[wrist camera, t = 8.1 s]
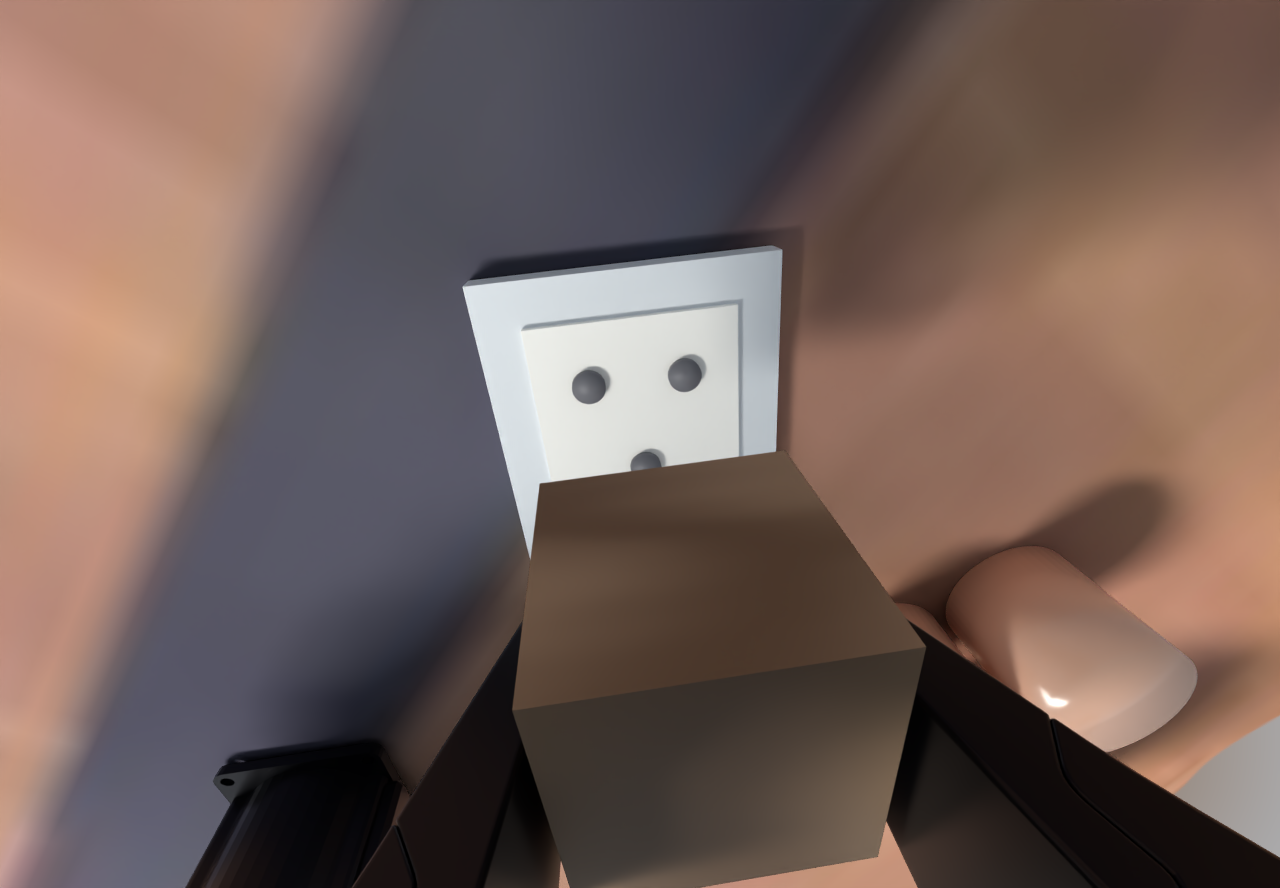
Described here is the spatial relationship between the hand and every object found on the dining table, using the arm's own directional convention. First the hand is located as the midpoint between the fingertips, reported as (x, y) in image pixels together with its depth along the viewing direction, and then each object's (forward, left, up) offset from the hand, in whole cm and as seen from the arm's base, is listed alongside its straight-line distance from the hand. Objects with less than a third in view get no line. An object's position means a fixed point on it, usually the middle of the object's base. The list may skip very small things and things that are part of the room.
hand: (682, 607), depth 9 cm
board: (0, -6, -8) cm, 10 cm away
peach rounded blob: (+14, -10, -8) cm, 19 cm away
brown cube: (0, 0, -1) cm, 1 cm away
